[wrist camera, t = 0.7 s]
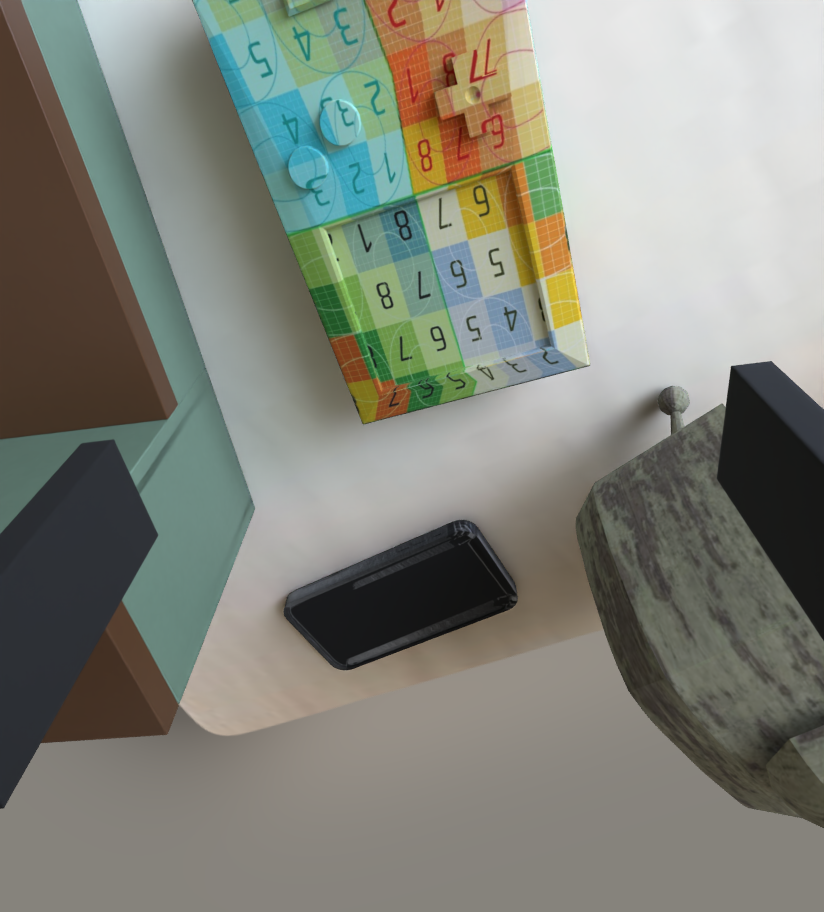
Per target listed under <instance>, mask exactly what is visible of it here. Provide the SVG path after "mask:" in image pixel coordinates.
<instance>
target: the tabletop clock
mask: <svg viewBox="0 0 824 912" xmlns="http://www.w3.org/2000/svg"><path fill="white" fill-rule="evenodd" d="M689 403H690V402H689V397H688V393H687V392H686V391H685V390H684V389H682V388H681V387H676V386H671V387H668V388H665V389H664V390H663V391H662V392H661V394H660V395H659V397H658V404H659V408H660V410H661V411H662V412H664V413H665V414H667V415H671V436H669V437H668V438H666V439H664V440H663V441H661V442H660V443H658V444H656V445H655V446H653V447H652V448H650V449H648V450H647V451H645V452H644V453H642V454H640V455H639V456H637V457H636V458H634V459H632V460H631V461H629V462H628V463H626V464H624V465H623V466H621V467H620V468H618V469H616V470H615V471H613V472H612V473H610V474H608V475H607V476H605V477H604V478H602V479H600V480H599V481H597V482H596V483H594V485H593V487H592V489H591V491H590V493H589V495H588V497H587V498H586V500H585V502H584V504H583V506H582V508H581V510H580V512H579V514H578V516H577V518H576V533H577V539H578V543H579V546H580V550H581V554H582V558H583V562H584V566H585V570H586V574H587V577H588V581H589V584H590V588H591V591H592V594H593V597H594V600H595V603H596V606H597V610H598V613H599V616H600V619H601V622H602V625H603V628H604V631H605V635H606V637H607V640H608V643H609V645H610V648H611V651H612V654H613V656H614V659H615V661H616V664H617V666H618V669H619V671H620V673H621V675H622V677H623V680H624V682H625V684H626V686H627V688H628V691H629V692H630V694H631V695H632V696H633V698H634V699H635V700H636V702H637V703H638V705H639V706H640V707H641V709H642V710H643V711H644V712H645V714H647V716H648V717H649V718H650V720H651V721H652V722H653V723H654V724H655V725H656V726H657V727H658V728H659V729H660V730H661V731H662V732H663V733H664V734H665V735H666V736H667V737H668V738H669V739H670V740H671V741H672V742H673V743H674V744H675V745H676V746H677V747H678V748H679V749H680V750H681V751H682V752H683V753H684V754H685V755H686V756H687V757H688V758H689V759H690V760H691V761H692V762H693V763H694V764H695V765H696V766H697V767H699V768H700V770H702V771H703V772H704V773H705V774H706V775H707V776H709V777H710V778H711V779H712V780H713V781H714V782H716V783H717V784H718V785H719V786H720V787H722V788H723V789H724V790H725V791H726V792H728V793H729V794H730V795H731V796H732V797H734V798H735V799H736V800H737V801H738V802H740V803H741V804H742V805H744V806H746V807H748V808H752V809H757V810H762V811H767V812H773V813H778V814H783V815H788V816H794V817H800V818H803V819H805V820H808V821H810V822H812V823H814V824H816V825H818V826H820V827H822V828H824V641H823V639H822V638H821V636H820V635H819V633H818V632H817V630H816V629H815V627H814V626H813V624H812V623H811V621H810V620H809V618H808V617H807V615H806V614H805V612H804V610H803V609H802V607H801V606H800V604H799V603H798V601H797V600H796V598H795V597H794V595H793V594H792V592H791V591H790V589H789V588H788V586H787V585H786V583H785V582H784V580H783V579H782V577H781V576H780V574H779V573H778V571H777V570H776V568H775V567H774V565H773V564H772V562H771V560H770V559H769V557H768V556H767V554H766V553H765V551H764V550H763V548H762V547H761V545H760V544H759V542H758V541H757V539H756V538H755V536H754V535H753V533H752V532H751V530H750V529H749V527H748V526H747V524H746V523H745V521H744V520H743V518H742V517H741V515H740V513H739V512H738V510H737V509H736V507H735V506H734V504H733V503H732V501H731V500H730V498H729V497H728V495H727V494H726V492H725V491H724V489H723V488H722V486H721V485H720V483H719V482H718V480H717V472H718V464H719V456H720V448H721V441H722V433H723V425H724V418H725V410H726V407H725V406H724V405H723V404H720V405H719V406H717V407H716V408H714V409H712V410H711V411H709V412H708V413H706V414H704V415H703V416H701V417H700V418H698V419H696V420H695V421H693V422H692V423H690V424H688V425H687V426H685V427H684V423H683V420H682V416H681V414H682V413H683V412H684V411H685V410H686V409H687V407H688V406H689Z"/></svg>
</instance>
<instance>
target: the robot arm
mask: <svg viewBox="0 0 824 912" xmlns="http://www.w3.org/2000/svg"><path fill="white" fill-rule="evenodd" d="M717 480H718V482H719V483H720V485H721V486H722V488H723V489H724V491H725V492H726V494H727V495H728V497H729V498H730V500H731V501H732V503H733V504H734V506H735V507H736V509H737V510H738V512H739V513H740V515H741V517H742V518H743V520H744V521H745V523H746V524H747V526H748V527H749V529H750V530H751V532H752V533H753V535H754V536H755V538H756V539H757V541H758V542H759V544H760V545H761V547H762V548H763V550H764V551H765V553H766V554H767V556H768V557H769V559H770V560H771V562H772V564H773V565H774V567H775V568H776V570H777V571H778V573H779V574H780V576H781V577H782V579H783V580H784V582H785V583H786V585H787V586H788V588H789V589H790V591H791V592H792V594H793V595H794V597H795V598H796V600H797V601H798V603H799V604H800V606H801V607H802V609H803V610H804V612H805V614H806V615H807V617H808V618H809V620H810V621H811V623H812V624H813V626H814V627H815V629H816V630H817V632H818V633H819V635H820V636H821V638H822V639H823V641H824V409H822V408H821V407H820V406H819V405H818V404H817V403H816V402H815V401H814V400H813V399H812V398H811V397H809V396H808V395H807V394H806V393H805V392H804V391H803V390H802V389H801V388H800V387H799V386H798V385H796V384H795V383H794V382H793V381H792V380H791V379H790V378H789V377H788V376H787V375H786V374H785V373H783V372H782V371H781V370H780V369H779V368H778V367H777V366H776V365H775V364H774V363H773V362H772V361H770V362H761V363H753V364H744V365H736V366H731V371H730V379H729V387H728V395H727V402H726V410H725V418H724V425H723V433H722V441H721V448H720V456H719V464H718V472H717ZM157 537H158V533H157V531H156V529H155V527H154V524H153V522H152V520H151V518H150V516H149V514H148V511H147V509H146V507H145V505H144V503H143V501H142V499H141V496H140V494H139V492H138V490H137V488H136V486H135V483H134V481H133V479H132V477H131V475H130V473H129V471H128V468H127V466H126V464H125V462H124V460H123V458H122V456H121V453H120V451H119V449H118V447H117V445H116V443H115V440H114V439H112V440H103V441H95V442H86V443H81V444H80V445H79V446H78V448H77V449H76V450H75V451H74V452H73V453H72V454H71V455H70V457H69V458H68V459H67V460H66V461H65V462H64V463H63V464H62V465H61V467H60V468H59V469H58V470H57V471H56V472H55V473H54V474H53V475H52V477H51V478H50V479H49V480H48V481H47V482H46V483H45V484H44V486H43V487H42V488H41V489H40V490H39V491H38V492H37V493H36V494H35V496H34V497H33V498H32V499H31V500H30V501H29V502H28V503H27V505H26V506H25V507H24V508H23V509H22V510H21V511H20V512H19V513H18V515H17V516H16V517H15V518H14V519H13V520H12V521H11V522H10V523H9V525H8V526H7V527H6V528H5V529H4V530H3V531H2V532H1V534H0V809H1V808H4V807H5V805H6V803H7V801H8V800H9V798H10V796H11V794H12V793H13V791H14V789H15V787H16V785H17V784H18V782H19V780H20V779H21V777H22V775H23V773H24V772H25V769H26V768H27V766H28V764H29V763H30V761H31V759H32V757H33V756H34V754H35V752H36V750H37V749H38V747H39V745H40V743H41V742H42V740H43V738H44V736H45V734H46V733H47V731H48V729H49V727H50V726H51V724H52V722H53V720H54V719H55V717H56V715H57V713H58V712H59V710H60V708H61V706H62V705H63V703H64V701H65V699H66V697H67V696H68V694H69V692H70V690H71V689H72V687H73V685H74V683H75V682H76V680H77V678H78V676H79V675H80V673H81V671H82V669H83V667H84V666H85V664H86V662H87V660H88V659H89V657H90V655H91V653H92V652H93V650H94V648H95V646H96V645H97V643H98V641H99V639H100V638H101V636H102V634H103V632H104V630H105V629H106V627H107V625H108V623H109V622H110V620H111V618H112V616H113V615H114V613H115V611H116V609H117V608H118V606H119V604H120V602H121V600H122V599H123V597H124V595H125V593H126V592H127V590H128V588H129V586H130V585H131V583H132V581H133V579H134V578H135V576H136V574H137V572H138V571H139V569H140V567H141V565H142V563H143V562H144V560H145V558H146V556H147V555H148V553H149V551H150V549H151V548H152V546H153V544H154V542H155V541H156V539H157Z"/></svg>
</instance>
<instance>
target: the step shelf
mask: <svg viewBox="0 0 824 912" xmlns="http://www.w3.org/2000/svg"><path fill="white" fill-rule="evenodd" d="M112 439H114V440H115V443H116V445H117V447H118V449H119V451H120V453H121V456H122V458H123V460H124V462H125V464H126V466H127V468H128V471H129V473H130V475H131V477H132V479H133V481H134V483H135V486H136V488H137V490H138V492H139V494H140V496H141V499H142V501H143V503H144V505H145V507H146V509H147V511H148V514H149V516H150V518H151V520H152V522H153V524H154V527H155V529H156V531H157V533H158V537H157V539H156V541H155V542H154V544H153V546H152V548H151V549H150V551H149V553H148V555H147V556H146V558H145V560H144V562H143V563H142V565H141V567H140V569H139V571H138V572H137V574H136V576H135V578H134V579H133V581H132V583H131V585H130V586H129V588H128V590H127V592H126V593H125V595H124V597H123V599H122V600H121V602H120V604H119V606H118V608H117V609H116V611H115V613H114V615H113V616H112V618H111V620H110V622H109V623H108V625H107V627H106V629H105V630H104V632H103V634H102V636H101V638H100V639H99V641H98V643H97V645H96V646H95V648H94V650H93V652H92V653H91V655H90V657H89V659H88V660H87V662H86V664H85V666H84V667H83V669H82V671H81V673H80V675H79V676H78V678H77V680H76V682H75V683H74V685H73V687H72V689H71V690H70V692H69V694H68V696H67V697H66V699H65V701H64V703H63V705H62V706H61V708H60V710H59V712H58V713H57V715H56V717H55V719H54V720H53V722H52V724H51V726H50V727H49V729H48V731H47V733H46V734H45V736H44V738H43V740H42V742H41V743H50V742H65V741H80V740H96V739H111V738H126V737H140V736H155V735H167V734H168V732H169V729H170V727H171V724H172V722H173V719H174V716H175V714H176V711H177V709H178V706H179V705H178V704H179V703H180V701H181V698H182V696H183V693H184V690H185V688H186V685H187V683H188V680H189V677H190V675H191V672H192V670H193V667H194V665H195V662H196V659H197V657H198V654H199V652H200V649H201V647H202V644H203V641H204V639H205V636H206V634H207V631H208V629H209V626H210V623H211V621H212V618H213V616H214V613H215V611H216V608H217V605H218V603H219V600H220V598H221V595H222V592H223V590H224V587H225V585H226V582H227V580H228V577H229V574H230V572H231V569H232V567H233V564H234V562H235V559H236V556H237V554H238V551H239V549H240V546H241V544H242V541H243V538H244V536H245V533H246V531H247V528H248V525H249V523H250V520H251V518H252V515H253V513H254V510H255V507H254V504H253V501H252V498H251V496H250V493H249V490H248V487H247V484H246V481H245V479H244V476H243V473H242V470H241V467H240V464H239V461H238V459H237V456H236V453H235V450H234V447H233V444H232V442H231V439H230V436H229V433H228V430H227V427H226V424H225V422H224V419H223V416H222V413H221V410H220V407H219V404H218V402H217V399H216V396H215V393H214V390H213V387H212V384H211V381H210V378H209V376H208V373H207V370H206V368H205V364H204V361H203V358H202V355H201V352H200V349H199V347H198V344H197V341H196V338H195V335H194V332H193V329H192V327H191V324H190V321H189V318H188V315H187V312H186V309H185V307H184V304H183V301H182V298H181V295H180V292H179V290H178V287H177V284H176V281H175V278H174V275H173V272H172V270H171V267H170V264H169V261H168V258H167V255H166V252H165V250H164V247H163V244H162V241H161V238H160V235H159V232H158V230H157V227H156V224H155V221H154V218H153V215H152V212H151V210H150V207H149V204H148V201H147V198H146V195H145V192H144V190H143V187H142V184H141V181H140V178H139V175H138V172H137V170H136V167H135V164H134V161H133V158H132V155H131V153H130V150H129V147H128V144H127V141H126V138H125V135H124V133H123V130H122V127H121V124H120V121H119V118H118V115H117V113H116V110H115V107H114V104H113V101H112V98H111V95H110V93H109V90H108V87H107V84H106V81H105V78H104V75H103V73H102V70H101V67H100V64H99V61H98V58H97V55H96V53H95V50H94V47H93V44H92V41H91V38H90V35H89V33H88V30H87V27H86V24H85V21H84V18H83V16H82V13H81V10H80V7H79V4H78V1H77V0H0V534H1V532H2V531H3V530H4V529H5V528H6V527H7V526H8V525H9V523H10V522H11V521H12V520H13V519H14V518H15V517H16V516H17V515H18V513H19V512H20V511H21V510H22V509H23V508H24V507H25V506H26V505H27V503H28V502H29V501H30V500H31V499H32V498H33V497H34V496H35V494H36V493H37V492H38V491H39V490H40V489H41V488H42V487H43V486H44V484H45V483H46V482H47V481H48V480H49V479H50V478H51V477H52V475H53V474H54V473H55V472H56V471H57V470H58V469H59V468H60V467H61V465H62V464H63V463H64V462H65V461H66V460H67V459H68V458H69V457H70V455H71V454H72V453H73V452H74V451H75V450H76V449H77V448H78V446H79V445H80V444H81V443H86V442H95V441H103V440H112Z"/></svg>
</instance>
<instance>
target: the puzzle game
mask: <svg viewBox="0 0 824 912" xmlns="http://www.w3.org/2000/svg"><path fill="white" fill-rule="evenodd" d="M192 1H193V4H194V6H195V9H196V11H197V14H198V16H199V19H200V21H201V24H202V26H203V29H204V31H205V33H206V36H207V38H208V41H209V43H210V46H211V48H212V51H213V53H214V56H215V58H216V61H217V63H218V66H219V68H220V71H221V73H222V76H223V78H224V81H225V83H226V86H227V88H228V91H229V93H230V96H231V98H232V101H233V103H234V105H235V108H236V110H237V113H238V115H239V118H240V120H241V123H242V125H243V128H244V130H245V133H246V135H247V138H248V140H249V143H250V145H251V148H252V150H253V153H254V155H255V158H256V160H257V163H258V165H259V168H260V170H261V173H262V175H263V177H264V180H265V182H266V185H267V187H268V190H269V192H270V195H271V197H272V200H273V202H274V205H275V207H276V210H277V212H278V215H279V217H280V220H281V222H282V225H283V227H284V230H285V232H286V235H287V237H288V240H289V242H290V245H291V247H292V249H293V252H294V254H295V257H296V259H297V262H298V264H299V267H300V269H301V272H302V274H303V277H304V279H305V282H306V284H307V287H308V289H309V292H310V294H311V297H312V299H313V302H314V304H315V307H316V309H317V312H318V314H319V317H320V319H321V322H322V324H323V326H324V329H325V331H326V334H327V336H328V339H329V341H330V344H331V346H332V349H333V351H334V354H335V356H336V359H337V361H338V364H339V366H340V369H341V371H342V374H343V376H344V379H345V381H346V384H347V386H348V389H349V391H350V394H351V396H352V398H353V401H354V403H355V406H356V408H357V411H358V413H359V416H360V418H361V421H362V423H363V424H367V423H371V422H375V421H379V420H383V419H387V418H390V417H394V416H398V415H402V414H406V413H410V412H414V411H417V410H421V409H425V408H429V407H433V406H437V405H441V404H444V403H448V402H452V401H456V400H460V399H464V398H467V397H471V396H475V395H479V394H483V393H487V392H491V391H494V390H498V389H502V388H506V387H510V386H514V385H518V384H521V383H525V382H529V381H533V380H537V379H541V378H545V377H548V376H552V375H556V374H560V373H564V372H568V371H572V370H575V369H579V368H583V367H587V366H590V361H589V355H588V350H587V344H586V338H585V332H584V327H583V321H582V315H581V310H580V304H579V298H578V292H577V287H576V281H575V275H574V270H573V264H572V258H571V253H570V247H569V241H568V235H567V230H566V224H565V218H564V213H563V207H562V201H561V195H560V190H559V184H558V178H557V173H556V167H555V161H554V156H553V150H552V144H551V138H550V133H549V127H548V121H547V116H546V110H545V104H544V98H543V93H542V87H541V81H540V76H539V70H538V64H537V59H536V53H535V47H534V41H533V36H532V30H531V24H530V19H529V13H528V7H527V1H526V0H192Z"/></svg>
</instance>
